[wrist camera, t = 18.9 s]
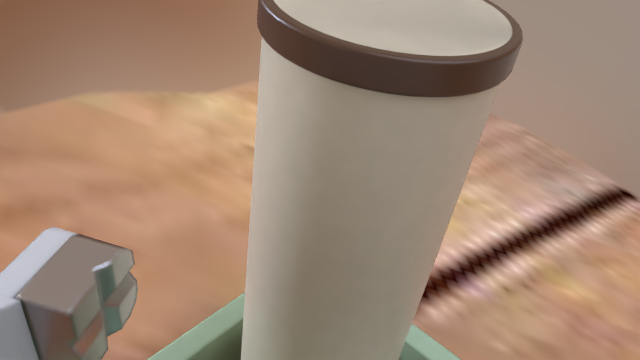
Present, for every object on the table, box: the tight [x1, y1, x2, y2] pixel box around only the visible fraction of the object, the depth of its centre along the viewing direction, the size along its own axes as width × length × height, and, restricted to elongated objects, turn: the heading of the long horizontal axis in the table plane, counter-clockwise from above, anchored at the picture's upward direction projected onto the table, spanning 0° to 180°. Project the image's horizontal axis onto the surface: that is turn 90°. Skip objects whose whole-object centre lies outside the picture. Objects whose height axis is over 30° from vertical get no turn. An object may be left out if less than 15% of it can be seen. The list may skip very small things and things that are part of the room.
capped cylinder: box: [241, 0, 523, 360], centre depth 13 cm, size 5×5×14 cm
